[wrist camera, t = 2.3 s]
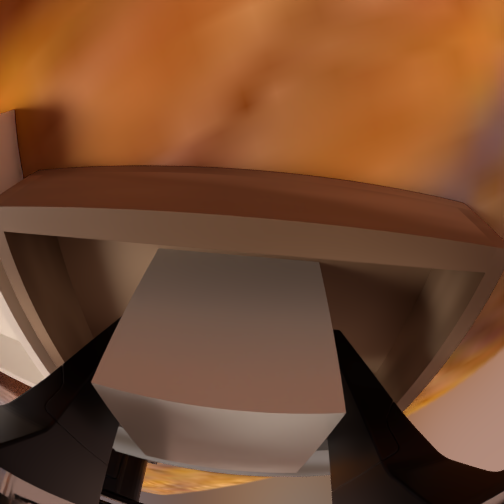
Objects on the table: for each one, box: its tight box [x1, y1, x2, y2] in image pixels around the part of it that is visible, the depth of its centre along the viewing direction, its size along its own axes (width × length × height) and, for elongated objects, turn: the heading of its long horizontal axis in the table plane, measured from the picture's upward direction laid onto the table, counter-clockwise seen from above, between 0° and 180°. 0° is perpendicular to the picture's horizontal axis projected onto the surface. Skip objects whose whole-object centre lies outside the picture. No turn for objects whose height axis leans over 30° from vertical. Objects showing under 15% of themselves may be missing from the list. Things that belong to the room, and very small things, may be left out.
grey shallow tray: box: [0, 166, 504, 477], centre depth 11 cm, size 17×15×4 cm
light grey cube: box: [91, 248, 346, 473], centre depth 8 cm, size 5×5×5 cm
